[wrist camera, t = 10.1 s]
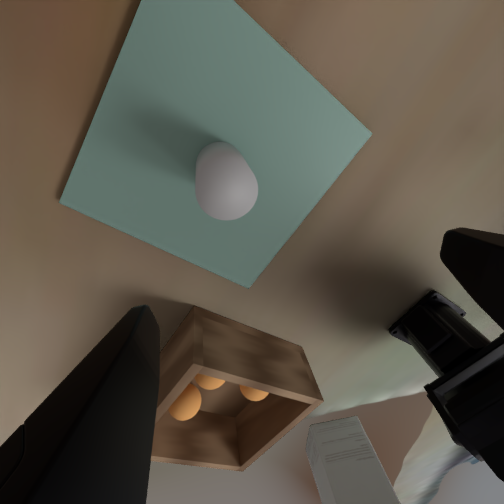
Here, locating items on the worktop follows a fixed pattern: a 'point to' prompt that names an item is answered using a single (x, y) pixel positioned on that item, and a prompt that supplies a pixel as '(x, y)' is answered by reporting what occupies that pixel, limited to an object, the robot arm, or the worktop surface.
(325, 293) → the worktop surface
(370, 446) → the supplement box
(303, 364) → the box
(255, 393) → the ball
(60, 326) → the worktop surface
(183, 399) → the ball
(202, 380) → the ball
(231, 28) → the lid
